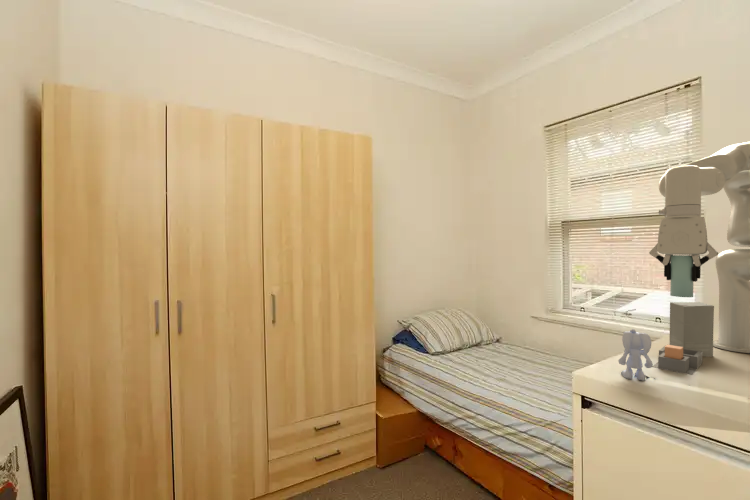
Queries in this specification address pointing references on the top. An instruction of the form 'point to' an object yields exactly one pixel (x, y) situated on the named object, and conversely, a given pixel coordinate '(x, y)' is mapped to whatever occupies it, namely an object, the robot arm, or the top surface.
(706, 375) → the top surface
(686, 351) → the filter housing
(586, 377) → the top surface
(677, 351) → the plunger
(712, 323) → the skincare box
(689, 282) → the cartridge
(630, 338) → the toy figurine
